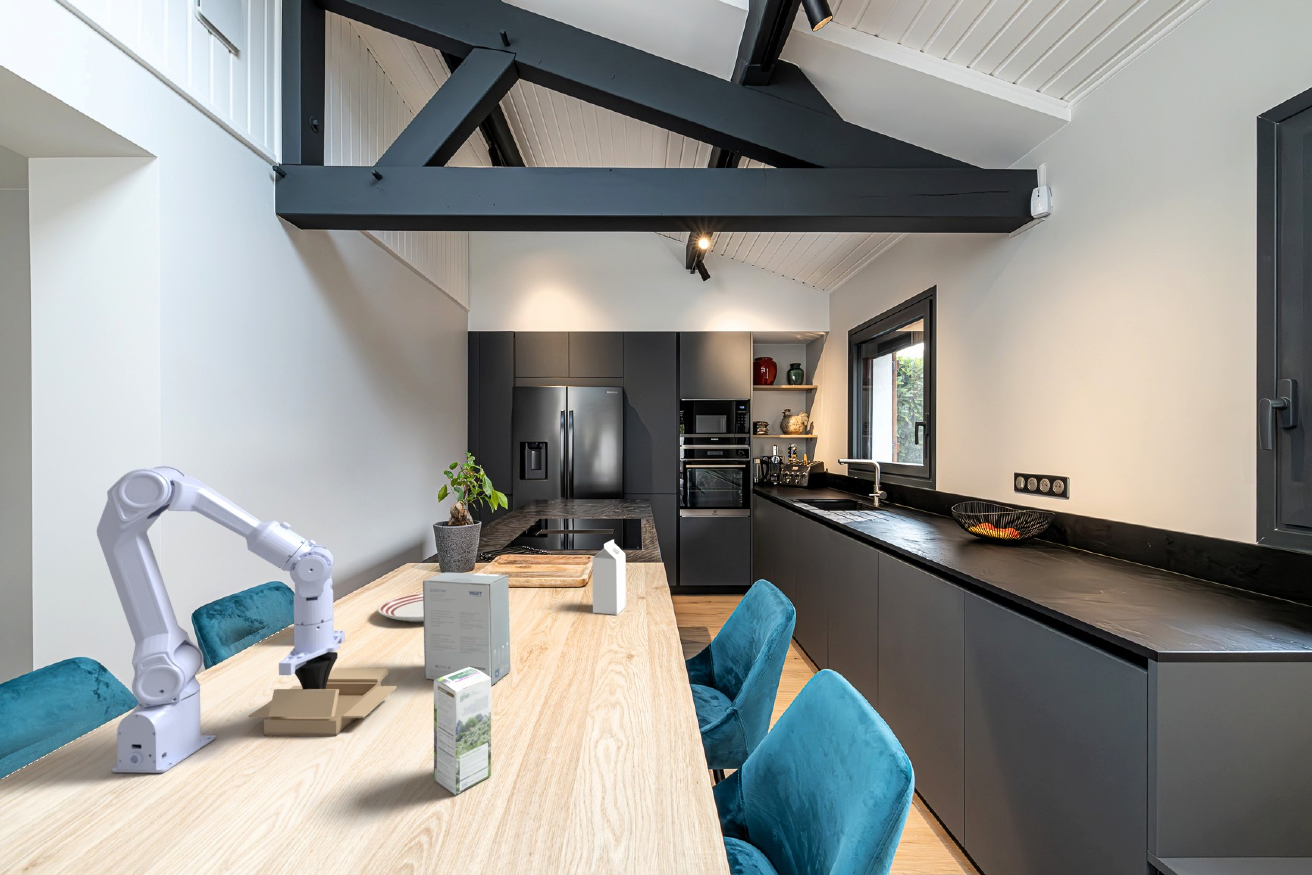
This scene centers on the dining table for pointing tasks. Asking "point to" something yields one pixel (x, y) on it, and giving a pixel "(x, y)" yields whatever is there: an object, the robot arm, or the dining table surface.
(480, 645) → the hard drive box
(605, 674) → the dining table surface
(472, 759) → the syrup box
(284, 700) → the flap near
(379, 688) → the carton
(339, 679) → the flap far
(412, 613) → the dinner plate
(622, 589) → the milk carton
